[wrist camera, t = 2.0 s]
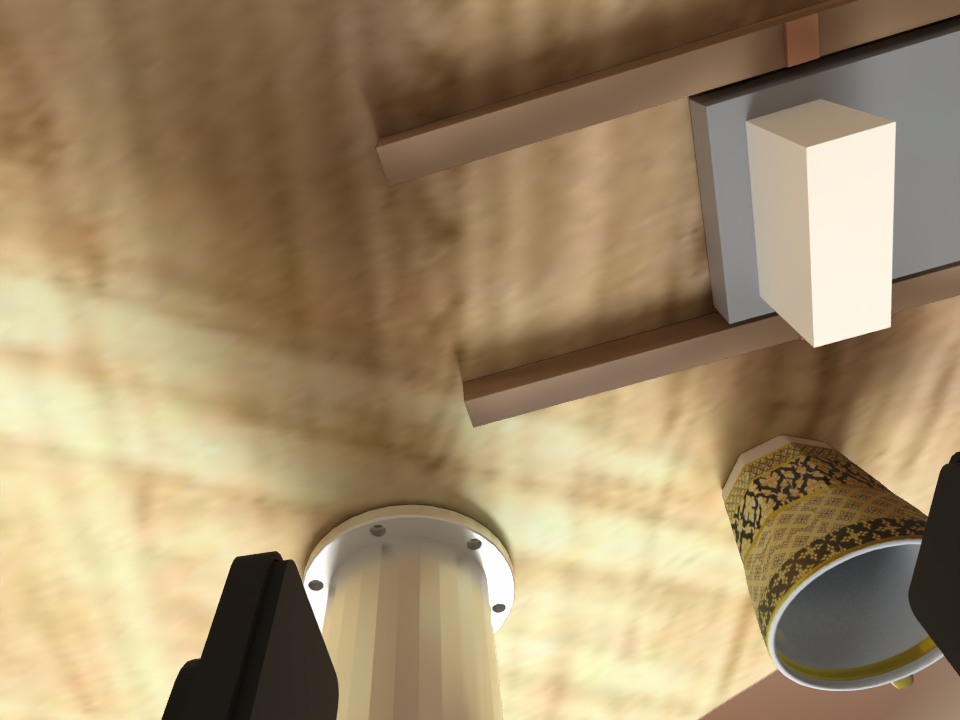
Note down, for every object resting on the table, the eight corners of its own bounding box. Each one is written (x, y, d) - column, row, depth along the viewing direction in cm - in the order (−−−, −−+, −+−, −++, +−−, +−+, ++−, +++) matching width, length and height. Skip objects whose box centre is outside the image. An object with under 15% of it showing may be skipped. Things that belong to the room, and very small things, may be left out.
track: (1219, 202, 33) (1263, 214, 31) (471, 407, 36) (473, 429, 34) (1314, -149, 26) (1377, -158, 24) (378, 139, 29) (375, 149, 27)
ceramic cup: (666, 463, 38) (736, 605, 30) (835, 377, 36) (964, 503, 28) (747, 595, 44) (826, 746, 36) (897, 527, 42) (1020, 670, 33)
